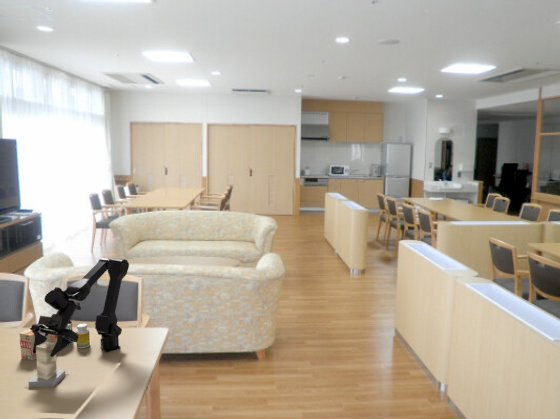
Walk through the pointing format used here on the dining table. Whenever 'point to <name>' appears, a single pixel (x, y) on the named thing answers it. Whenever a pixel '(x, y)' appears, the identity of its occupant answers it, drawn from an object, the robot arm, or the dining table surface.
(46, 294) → the robot arm
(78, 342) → the supplement bottle
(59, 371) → the slate slab
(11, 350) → the dining table surface
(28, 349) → the stack of blocks
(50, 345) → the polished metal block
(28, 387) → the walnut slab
